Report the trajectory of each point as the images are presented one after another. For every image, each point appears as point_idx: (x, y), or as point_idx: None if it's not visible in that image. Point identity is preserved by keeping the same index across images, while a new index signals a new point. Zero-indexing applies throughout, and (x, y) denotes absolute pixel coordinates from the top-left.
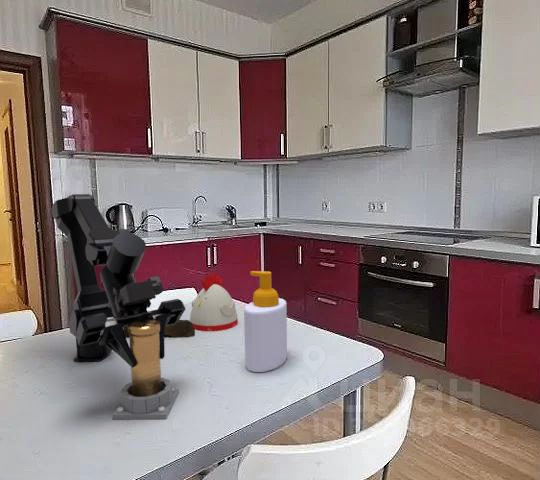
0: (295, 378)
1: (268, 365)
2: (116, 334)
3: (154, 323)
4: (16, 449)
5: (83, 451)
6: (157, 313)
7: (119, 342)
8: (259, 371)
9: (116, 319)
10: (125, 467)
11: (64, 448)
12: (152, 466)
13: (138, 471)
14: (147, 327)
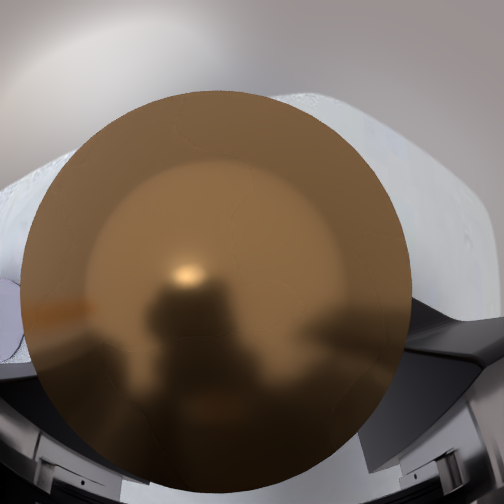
0: (9, 230)
1: (4, 279)
2: (465, 325)
3: (60, 243)
4: (489, 269)
5: (407, 193)
6: (25, 492)
7: (417, 301)
8: (19, 287)
9: (501, 476)
10: (344, 116)
11: (435, 223)
12: (305, 98)
13: (326, 100)
14: (176, 133)
